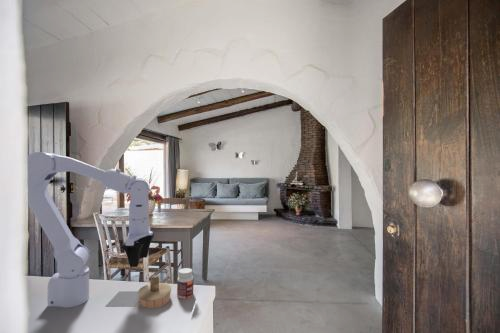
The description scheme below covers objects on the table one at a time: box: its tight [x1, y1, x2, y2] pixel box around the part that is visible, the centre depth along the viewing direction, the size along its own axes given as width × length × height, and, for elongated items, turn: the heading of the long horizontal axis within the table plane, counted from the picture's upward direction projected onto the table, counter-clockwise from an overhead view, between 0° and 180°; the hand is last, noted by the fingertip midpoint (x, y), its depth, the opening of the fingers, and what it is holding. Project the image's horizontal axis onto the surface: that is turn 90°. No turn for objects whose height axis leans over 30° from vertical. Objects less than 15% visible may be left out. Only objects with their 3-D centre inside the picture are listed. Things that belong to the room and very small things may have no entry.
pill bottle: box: [176, 267, 195, 300], centre depth 80 cm, size 5×5×8 cm
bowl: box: [139, 293, 171, 309], centre depth 77 cm, size 8×8×3 cm
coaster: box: [105, 290, 140, 307], centre depth 78 cm, size 8×8×1 cm
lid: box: [137, 274, 172, 301], centre depth 77 cm, size 9×9×5 cm
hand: (139, 261), depth 83 cm, fingers open, 7 cm apart
